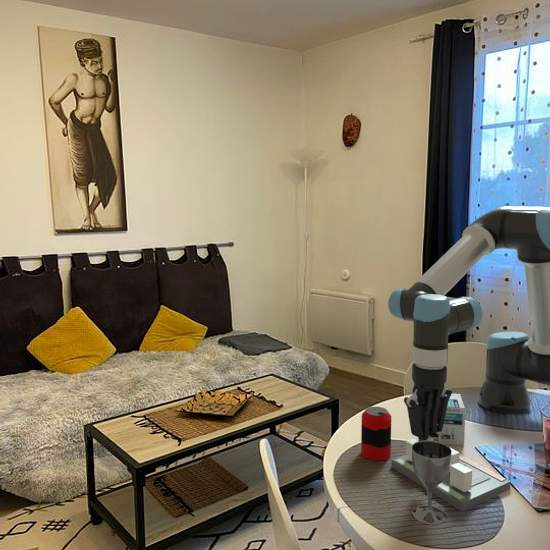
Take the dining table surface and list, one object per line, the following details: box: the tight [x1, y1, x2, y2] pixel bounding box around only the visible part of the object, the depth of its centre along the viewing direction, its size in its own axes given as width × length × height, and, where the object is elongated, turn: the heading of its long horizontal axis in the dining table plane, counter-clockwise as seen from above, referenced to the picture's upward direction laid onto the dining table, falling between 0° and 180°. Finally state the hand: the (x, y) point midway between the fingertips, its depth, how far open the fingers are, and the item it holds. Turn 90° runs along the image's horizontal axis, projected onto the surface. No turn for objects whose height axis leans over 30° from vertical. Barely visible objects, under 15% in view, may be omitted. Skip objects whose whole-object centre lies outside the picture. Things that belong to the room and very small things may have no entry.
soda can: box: [360, 406, 392, 462], centre depth 142 cm, size 8×8×12 cm
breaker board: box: [391, 454, 511, 512], centre depth 131 cm, size 16×22×2 cm
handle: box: [405, 438, 418, 461], centre depth 135 cm, size 2×4×4 cm, turn 31°
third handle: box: [450, 463, 472, 492], centre depth 123 cm, size 2×4×4 cm, turn 31°
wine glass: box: [411, 440, 452, 526], centre depth 116 cm, size 8×8×15 cm
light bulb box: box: [437, 393, 466, 446], centre depth 152 cm, size 11×7×11 cm, turn 168°
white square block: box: [449, 447, 461, 472], centre depth 131 cm, size 2×4×4 cm, turn 31°
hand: (425, 462), depth 127 cm, fingers closed
